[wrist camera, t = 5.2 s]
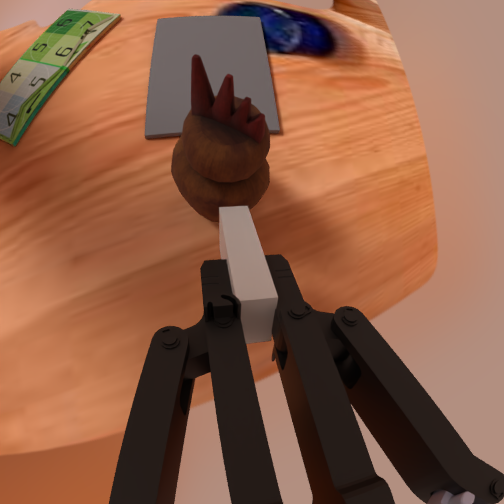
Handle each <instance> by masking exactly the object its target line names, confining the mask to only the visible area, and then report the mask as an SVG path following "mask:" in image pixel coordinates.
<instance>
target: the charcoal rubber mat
mask: <svg viewBox="0 0 504 504" xmlns="http://www.w3.org/2000/svg"><path fill="white" fill-rule="evenodd" d="M195 54H197V55H199V56H200V57H201V59H202V62H203V65H204V68H205V71H206V73H207V76H208V79H209V82H210V85H211V88H212V91H213V93H214V96H216V95H217V94H218V92H219V90H220V87H221V85H222V83H223V80H224V78H225V76H226V75H227V74H231V75H233V80H234V96H235V97H238V98H241V99H244V98H245V97H249V98H251V104H253V105H254V106H255V107H257V108H258V110H259V111H260V112H261V113H263V114H264V115H265V121H266V123H267V126H268V128H269V133H279V131H280V128H279V122H278V115H277V109H276V103H275V97H274V91H273V85H272V79H271V74H270V68H269V63H268V57H267V52H266V47H265V41H264V36H263V31H262V26H261V21H260V17H244V16H191V17H174V18H163V19H158V21H157V27H156V33H155V39H154V46H153V53H152V60H151V68H150V77H149V86H148V97H147V109H146V122H145V138H146V139H148V138H159V137H170V136H181V135H182V130H183V123H184V120H185V118H186V117H187V115H188V113H189V111H190V110H191V61H192V57H193V56H194V55H195Z"/></svg>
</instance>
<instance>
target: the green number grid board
mask: <svg viewBox="0 0 504 504" xmlns="http://www.w3.org/2000/svg"><path fill="white" fill-rule="evenodd" d="M120 19H121V16H120V14H114V13H107V12H99V11H89V10H78V9H68V10H67V11H66V12H65V13H64V14H62V15H61V16H60V17H59V18H58V19H57V20H56V21H55V22H54V23H53V24H52V25H51V26H50V27H49V28H48V29H47V30H46V31H45V32H44V33H43V34H42V35H41V36H40V37H39V38H38V39H37V40H36V41H35V42H34V43H33V44H32V45H31V46H30V47H29V48H28V50H27V51H26V52H25V53H24V54H23V55H22V56H21V57H20V59H19V60H18V61H17V62H16V63H15V65H14V66H13V67H12V68H11V69H10V71H9V72H8V73H7V74H6V76H5V77H4V78H3V80H2V81H1V82H0V139H1V140H3V141H5V142H7V143H9V144H11V145H13V146H16V145H17V143H18V142H19V140H20V138H21V137H22V135H23V134H24V132H25V130H26V129H27V127H28V126H29V124H30V123H31V121H32V120H33V118H34V117H35V115H36V114H37V113H38V111H39V110H40V108H41V107H42V106H43V104H44V103H45V101H46V100H47V99H48V97H49V96H50V95H51V93H52V92H53V91H54V90H55V88H56V87H57V86H58V85H59V83H60V82H61V81H62V80H63V78H64V77H65V76H66V75H67V74H68V72H69V71H70V70H71V69H72V68H73V67H74V65H75V64H76V63H77V62H78V61H79V60H80V59H81V58H82V57H83V55H84V54H85V53H86V52H87V51H88V50H89V49H90V48H91V47H92V46H93V45H94V44H95V43H96V42H97V41H98V40H99V39H100V38H101V37H102V36H103V35H104V34H105V33H106V32H107V31H108V30H109V29H110V28H111V27H112V26H113V25H115V24H116V23H117V22H118V21H119V20H120Z"/></svg>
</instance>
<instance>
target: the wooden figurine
mask: <svg viewBox="0 0 504 504" xmlns="http://www.w3.org/2000/svg"><path fill="white" fill-rule="evenodd" d="M269 148H270V133H269V128H268V126H267V123H266V121H265V115H264V114H263V113H261V112H260V111H259V110H258V108H257V107H255V106H254V105H253V104H251V98H249V97H245V98H244V99H241V98H238V97H235V96H234V80H233V75H231V74H227V75H226V76H225V78H224V80H223V83H222V85H221V87H220V90H219V92H218V94H217V95H216V96H214V93H213V91H212V88H211V85H210V82H209V79H208V76H207V73H206V71H205V68H204V65H203V62H202V59H201V57H200V56H199V55H197V54H195V55H194V56H193V57H192V61H191V110H190V111H189V113H188V115H187V117H186V118H185V120H184V123H183V130H182V135H181V137H180V139H179V140H178V142H177V144H176V145H175V148H174V150H173V157H172V166H171V172H172V176H173V178H174V180H175V183H176V185H177V187H178V189H179V191H180V192H181V194H182V195H183V197H184V198H185V199H186V201H187V202H188V203H189V204H190V205H191V206H192V207H193V208H194V209H195V210H196V211H197V212H198V213H199V214H200V215H202V216H204V217H205V218H207V219H209V220H211V221H217V222H219V207H233V206H248V208H249V210H250V209H251V208H252V207H253V206H255V205H256V204H257V202H258V201H259V200H260V199H261V197H262V195H263V194H264V192H265V191H266V189H267V188H268V185H269V165H268V162H267V160H266V156H267V154H268V152H269Z"/></svg>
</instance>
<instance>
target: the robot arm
mask: <svg viewBox="0 0 504 504" xmlns="http://www.w3.org/2000/svg"><path fill="white" fill-rule="evenodd" d="M219 237H220V254H221V259H220V260H206V261H204V263H203V265H202V266H201V268H200V269H201V282H202V294H203V305H204V315H203V317H202V319H201V320H200V321H199V322H198V323H197V324H196V325H194V326H192V327H190V328H187V329H184V330H182V329H181V328H179V327H175V326H167V327H164V328H161V329H159V330H158V331H157V332H156V333H155V334H154V336H153V338H152V341H151V344H150V347H149V350H148V353H147V357H146V360H145V363H144V366H143V370H142V373H141V376H140V380H139V383H138V387H137V390H136V394H135V397H134V401H133V404H132V408H131V412H130V415H129V419H128V423H127V427H126V430H125V434H124V439H123V443H122V446H121V450H120V455H119V459H118V463H117V468H116V472H115V477H114V481H113V486H112V491H111V496H110V501H109V504H174V501H175V494H176V487H177V480H178V474H179V468H180V462H181V456H182V450H183V444H184V438H185V432H186V426H187V420H188V415H189V410H190V404H191V399H192V393H193V388H194V382H195V378H197V377H199V376H202V375H204V374H207V373H209V372H211V378H212V386H213V394H214V401H215V408H216V415H217V422H218V428H219V435H220V441H221V447H222V453H223V459H224V465H225V470H226V476H227V482H228V487H229V492H230V497H231V503H232V504H283V502H282V499H281V495H280V491H279V487H278V483H277V479H276V475H275V471H274V467H273V462H272V458H271V454H270V449H269V445H268V441H267V437H266V433H265V428H264V424H263V420H262V415H261V411H260V406H259V402H258V397H257V393H256V388H255V384H254V379H253V374H252V370H251V365H250V360H249V356H248V351H247V346H246V344H248V343H257V342H265V341H271V337H272V335H273V339H274V348H273V353H272V361H274V360H275V359H276V362H277V366H278V370H279V373H280V377H281V381H282V384H283V388H284V392H285V396H286V399H287V403H288V407H289V410H290V414H291V418H292V422H293V425H294V429H295V433H296V436H297V439H298V444H299V447H300V451H301V455H302V458H303V462H304V465H305V469H306V473H307V477H308V480H309V484H310V487H311V491H312V494H313V502H312V504H395V502H394V500H393V496H392V493H391V490H390V488H389V486H388V484H387V483H386V481H385V480H384V479H383V478H381V477H379V476H378V475H377V474H376V472H375V470H374V467H373V464H372V461H371V459H370V456H369V453H368V450H367V448H366V445H365V442H364V439H363V436H362V433H361V431H360V428H359V425H358V422H357V420H356V417H355V414H354V412H353V409H352V407H351V405H352V406H353V408H354V409H355V410H356V412H357V413H358V415H359V416H360V417H361V419H362V421H363V422H364V424H365V425H366V427H367V428H368V429H369V431H370V432H371V434H372V435H373V437H374V438H375V440H376V441H377V442H378V444H379V445H380V447H381V448H382V450H383V451H384V453H385V454H386V456H387V457H388V459H389V460H390V461H391V463H392V464H393V466H394V467H395V469H396V470H397V472H398V473H399V475H400V476H401V477H402V479H403V480H404V482H405V483H406V485H407V486H408V487H409V488H410V490H411V491H412V492H413V493H414V494H415V495H416V496H417V497H418V498H419V499H421V500H422V501H423V502H425V503H426V504H496V503H498V502H499V501H501V500H502V499H503V497H504V474H503V473H501V472H500V471H498V470H496V469H495V468H493V467H492V466H490V465H488V464H486V463H485V462H484V461H482V460H480V459H479V458H477V457H476V456H474V455H473V454H472V452H471V451H470V450H469V448H468V447H467V445H466V444H465V443H464V442H463V440H462V439H461V437H460V436H459V434H458V433H457V432H456V430H455V429H454V428H453V426H452V425H451V424H450V422H449V421H448V420H447V418H446V417H445V416H444V414H443V413H442V412H441V410H440V409H439V408H438V406H437V405H436V404H435V402H434V401H433V400H432V399H431V397H430V396H429V395H428V393H427V392H426V391H425V390H424V388H423V387H422V386H421V385H420V383H419V382H418V381H417V379H416V378H415V377H414V376H413V374H412V373H411V372H410V371H409V369H408V368H407V367H406V366H405V364H404V363H403V362H402V361H401V359H400V358H399V357H398V356H397V355H396V353H395V352H394V351H393V349H392V348H391V347H390V346H389V345H388V343H387V342H386V341H385V340H384V339H383V337H382V336H381V335H380V334H379V333H378V331H377V330H376V329H375V328H374V327H373V325H372V324H371V323H370V322H369V321H368V319H367V318H366V317H365V316H364V315H363V313H361V312H360V311H359V310H358V309H356V308H354V307H349V306H344V307H340V308H339V309H337V310H336V312H335V314H333V313H325V312H320V311H316V310H314V309H313V308H312V307H311V305H309V304H308V303H306V302H305V301H304V300H303V297H302V295H301V292H300V290H299V287H298V285H297V282H296V280H295V278H294V275H293V273H292V271H291V268H290V265H289V263H288V261H287V260H286V259H285V258H284V257H283V256H282V255H281V254H278V255H265V256H264V253H263V250H262V247H261V244H260V241H259V238H258V235H257V232H256V229H255V226H254V223H253V220H252V217H251V214H250V211H249V208H248V206H233V207H219ZM350 403H351V404H350Z"/></svg>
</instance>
